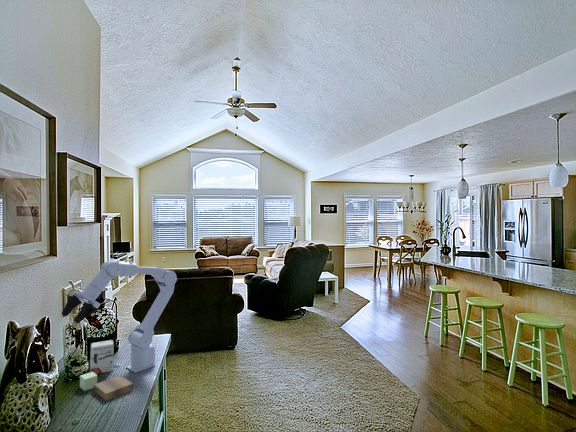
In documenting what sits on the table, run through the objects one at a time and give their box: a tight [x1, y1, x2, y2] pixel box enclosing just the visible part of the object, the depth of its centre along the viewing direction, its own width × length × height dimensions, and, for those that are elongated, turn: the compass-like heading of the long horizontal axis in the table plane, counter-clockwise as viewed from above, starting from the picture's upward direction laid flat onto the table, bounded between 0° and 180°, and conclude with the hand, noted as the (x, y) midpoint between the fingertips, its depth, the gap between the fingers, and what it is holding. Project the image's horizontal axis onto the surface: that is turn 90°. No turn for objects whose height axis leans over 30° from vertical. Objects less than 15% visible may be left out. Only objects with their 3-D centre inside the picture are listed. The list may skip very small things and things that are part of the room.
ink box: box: [89, 339, 115, 375], centre depth 144 cm, size 8×5×12 cm, turn 123°
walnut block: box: [93, 374, 134, 402], centre depth 128 cm, size 10×10×3 cm
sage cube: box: [79, 371, 98, 392], centre depth 130 cm, size 4×4×4 cm
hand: (69, 318), depth 125 cm, fingers open, 7 cm apart
